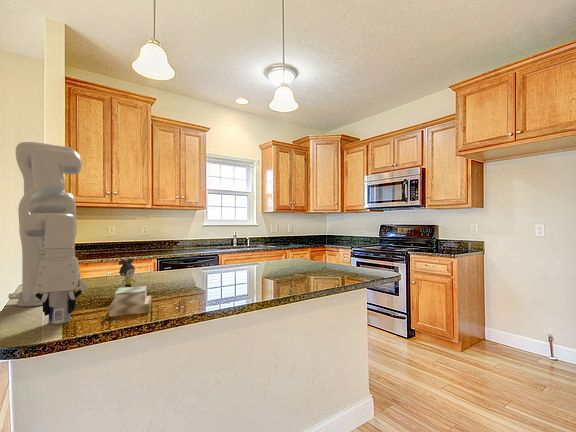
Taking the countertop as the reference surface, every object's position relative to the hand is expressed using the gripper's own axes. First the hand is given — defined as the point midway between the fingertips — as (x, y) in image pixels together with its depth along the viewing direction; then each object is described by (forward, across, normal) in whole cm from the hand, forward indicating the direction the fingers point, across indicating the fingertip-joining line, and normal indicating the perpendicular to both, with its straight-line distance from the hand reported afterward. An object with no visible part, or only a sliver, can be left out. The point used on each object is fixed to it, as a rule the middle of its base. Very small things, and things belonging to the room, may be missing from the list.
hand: (59, 312), depth 95 cm
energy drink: (+3, 0, 0) cm, 3 cm away
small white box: (+3, +19, +7) cm, 20 cm away
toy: (+3, +15, +30) cm, 34 cm away
